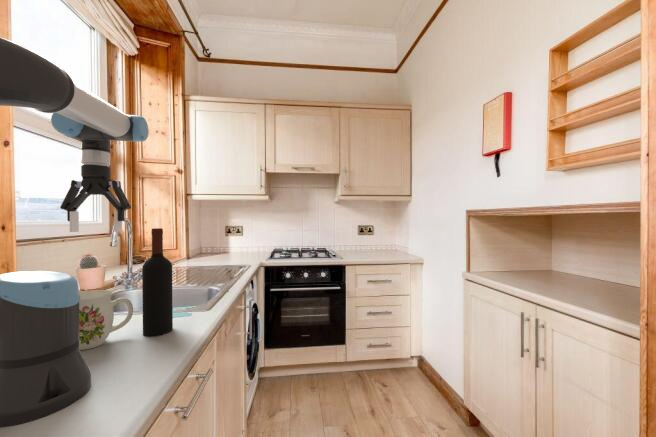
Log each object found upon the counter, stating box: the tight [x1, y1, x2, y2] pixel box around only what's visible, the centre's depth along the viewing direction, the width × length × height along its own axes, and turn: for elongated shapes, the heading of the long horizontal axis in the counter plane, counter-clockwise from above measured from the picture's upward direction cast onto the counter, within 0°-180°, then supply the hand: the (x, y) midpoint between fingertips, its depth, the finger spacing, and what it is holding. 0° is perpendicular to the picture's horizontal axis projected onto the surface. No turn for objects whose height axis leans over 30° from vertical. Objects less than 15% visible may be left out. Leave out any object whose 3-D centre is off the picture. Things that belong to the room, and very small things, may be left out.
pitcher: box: [79, 289, 134, 351], centre depth 81 cm, size 11×18×14 cm, turn 131°
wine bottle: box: [141, 227, 174, 338], centre depth 89 cm, size 8×8×30 cm
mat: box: [173, 305, 197, 319], centre depth 107 cm, size 12×12×1 cm
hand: (96, 231), depth 98 cm, fingers open, 13 cm apart
